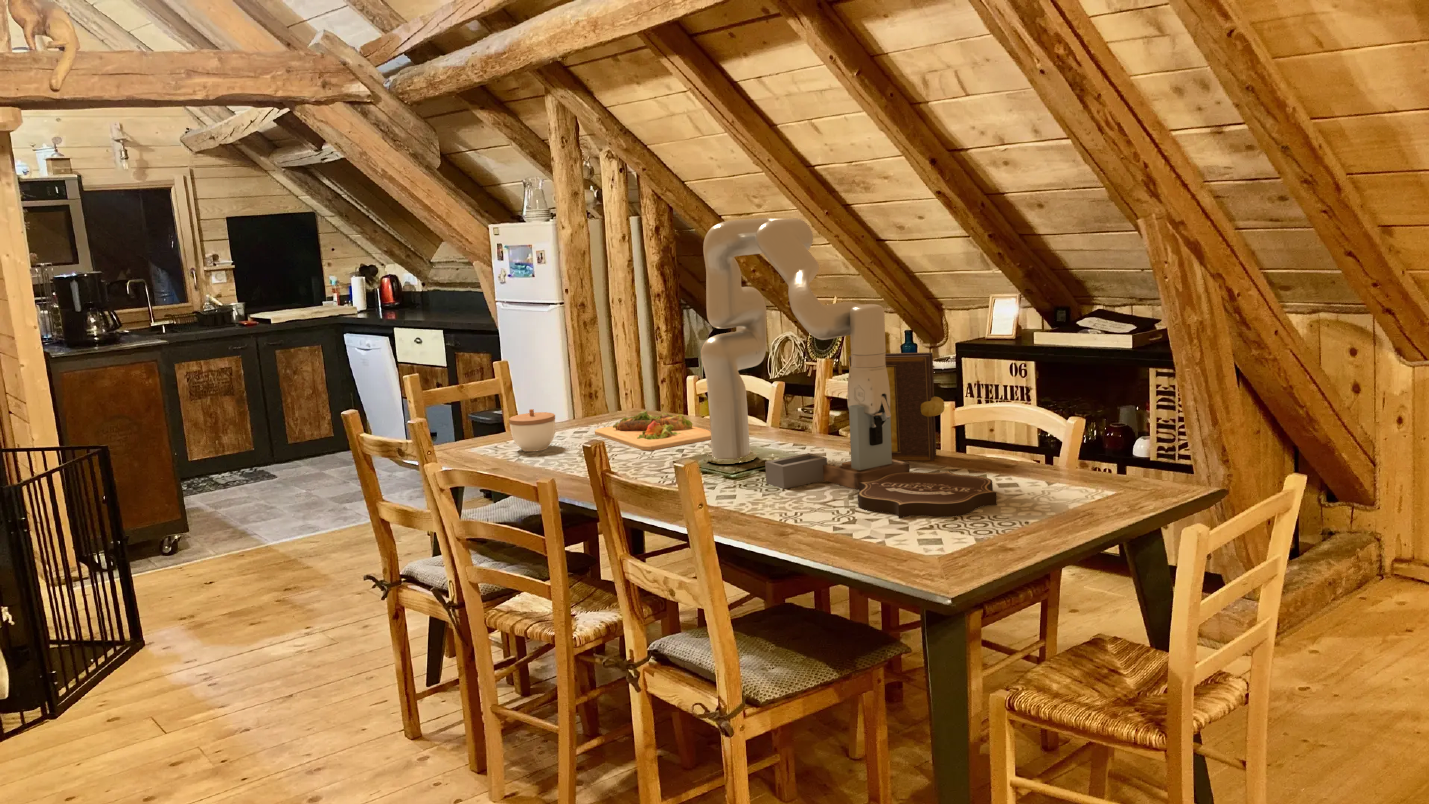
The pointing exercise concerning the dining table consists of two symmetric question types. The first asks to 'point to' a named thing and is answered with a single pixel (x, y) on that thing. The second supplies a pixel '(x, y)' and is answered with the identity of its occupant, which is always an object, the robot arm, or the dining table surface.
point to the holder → (795, 470)
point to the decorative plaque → (926, 494)
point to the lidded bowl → (533, 430)
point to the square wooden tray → (861, 474)
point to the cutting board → (654, 431)
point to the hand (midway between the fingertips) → (871, 442)
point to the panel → (867, 441)
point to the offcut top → (848, 466)
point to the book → (912, 406)
